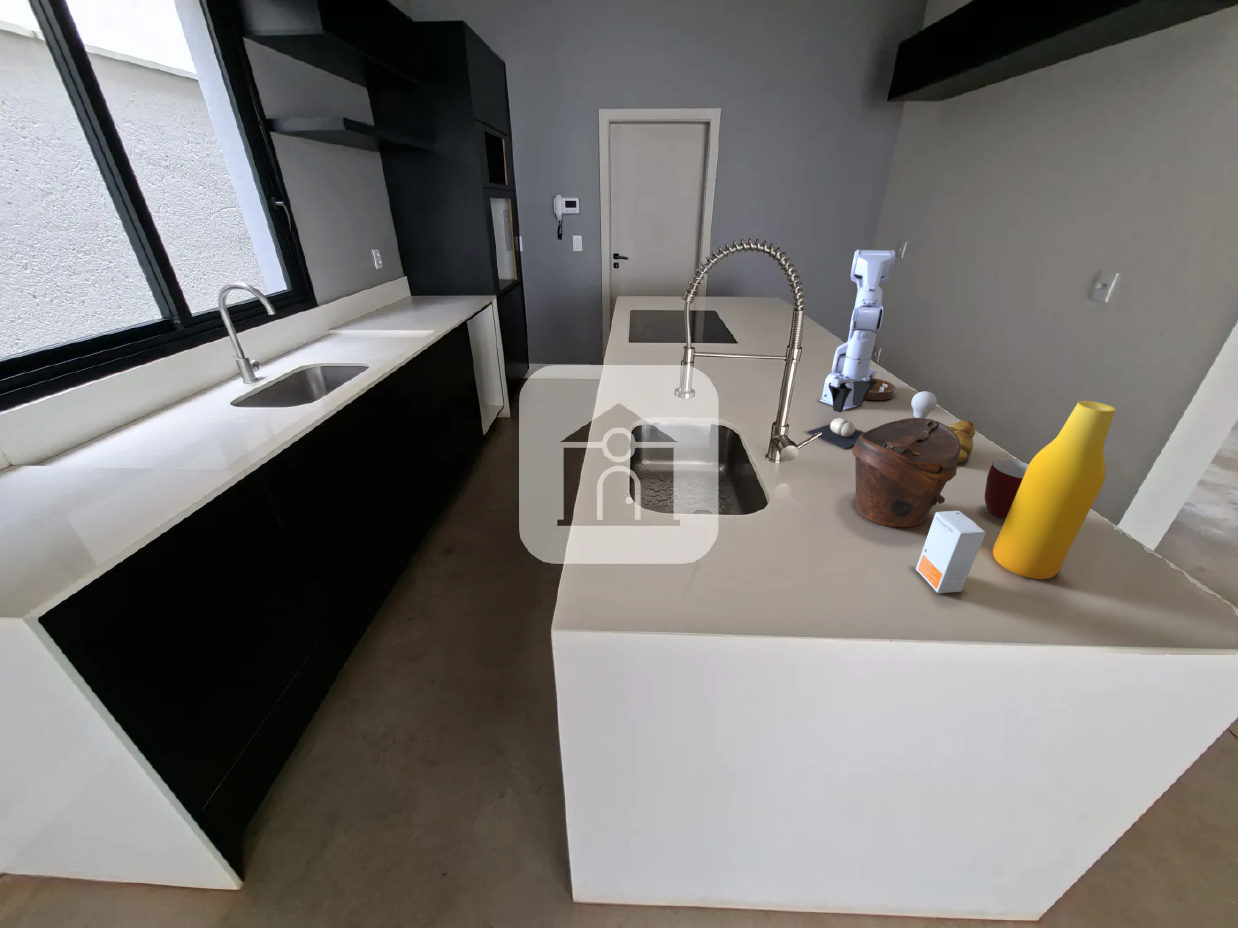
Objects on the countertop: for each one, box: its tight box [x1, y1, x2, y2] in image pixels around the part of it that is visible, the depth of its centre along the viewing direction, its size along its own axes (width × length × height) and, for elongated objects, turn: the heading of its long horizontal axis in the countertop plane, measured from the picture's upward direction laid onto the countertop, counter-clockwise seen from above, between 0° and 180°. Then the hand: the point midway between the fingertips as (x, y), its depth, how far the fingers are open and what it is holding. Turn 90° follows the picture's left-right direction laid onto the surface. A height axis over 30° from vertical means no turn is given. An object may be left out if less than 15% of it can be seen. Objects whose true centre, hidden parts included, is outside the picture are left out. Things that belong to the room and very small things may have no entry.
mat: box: [807, 424, 864, 450], centre depth 132 cm, size 12×12×1 cm
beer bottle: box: [992, 400, 1116, 580], centre depth 79 cm, size 9×9×29 cm
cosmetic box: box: [915, 510, 987, 594], centre depth 79 cm, size 6×4×12 cm
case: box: [851, 417, 961, 528], centre depth 96 cm, size 18×20×18 cm
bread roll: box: [946, 419, 976, 464], centre depth 120 cm, size 13×10×8 cm
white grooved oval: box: [829, 417, 856, 437], centre depth 131 cm, size 7×4×4 cm, turn 31°
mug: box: [984, 459, 1030, 519], centre depth 96 cm, size 10×8×10 cm
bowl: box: [864, 377, 897, 401], centre depth 160 cm, size 15×15×3 cm
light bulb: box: [910, 390, 938, 419], centre depth 135 cm, size 6×6×10 cm
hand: (847, 408), depth 129 cm, fingers open, 7 cm apart
